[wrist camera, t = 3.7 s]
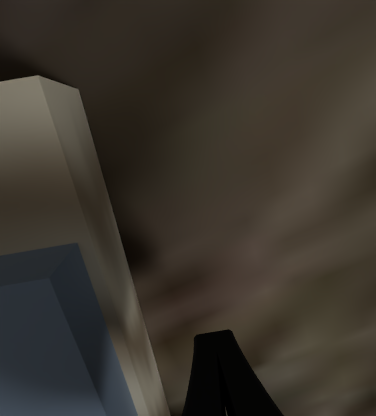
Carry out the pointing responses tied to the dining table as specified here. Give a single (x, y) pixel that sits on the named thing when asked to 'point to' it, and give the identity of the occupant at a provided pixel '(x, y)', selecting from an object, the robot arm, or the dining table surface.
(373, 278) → the dining table surface
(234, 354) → the robot arm
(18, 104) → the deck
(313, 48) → the dining table surface
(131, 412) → the block
